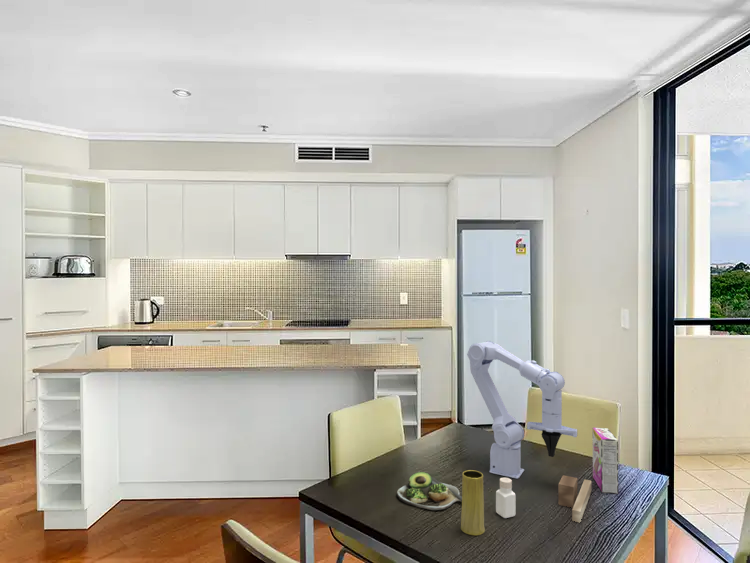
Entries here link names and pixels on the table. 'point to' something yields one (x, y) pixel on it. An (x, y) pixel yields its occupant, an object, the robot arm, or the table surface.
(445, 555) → the table surface
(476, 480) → the vase
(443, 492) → the salad plate
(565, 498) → the walnut block
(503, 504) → the pepper shaker
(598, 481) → the candy bar box
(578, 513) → the maple board
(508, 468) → the robot arm
